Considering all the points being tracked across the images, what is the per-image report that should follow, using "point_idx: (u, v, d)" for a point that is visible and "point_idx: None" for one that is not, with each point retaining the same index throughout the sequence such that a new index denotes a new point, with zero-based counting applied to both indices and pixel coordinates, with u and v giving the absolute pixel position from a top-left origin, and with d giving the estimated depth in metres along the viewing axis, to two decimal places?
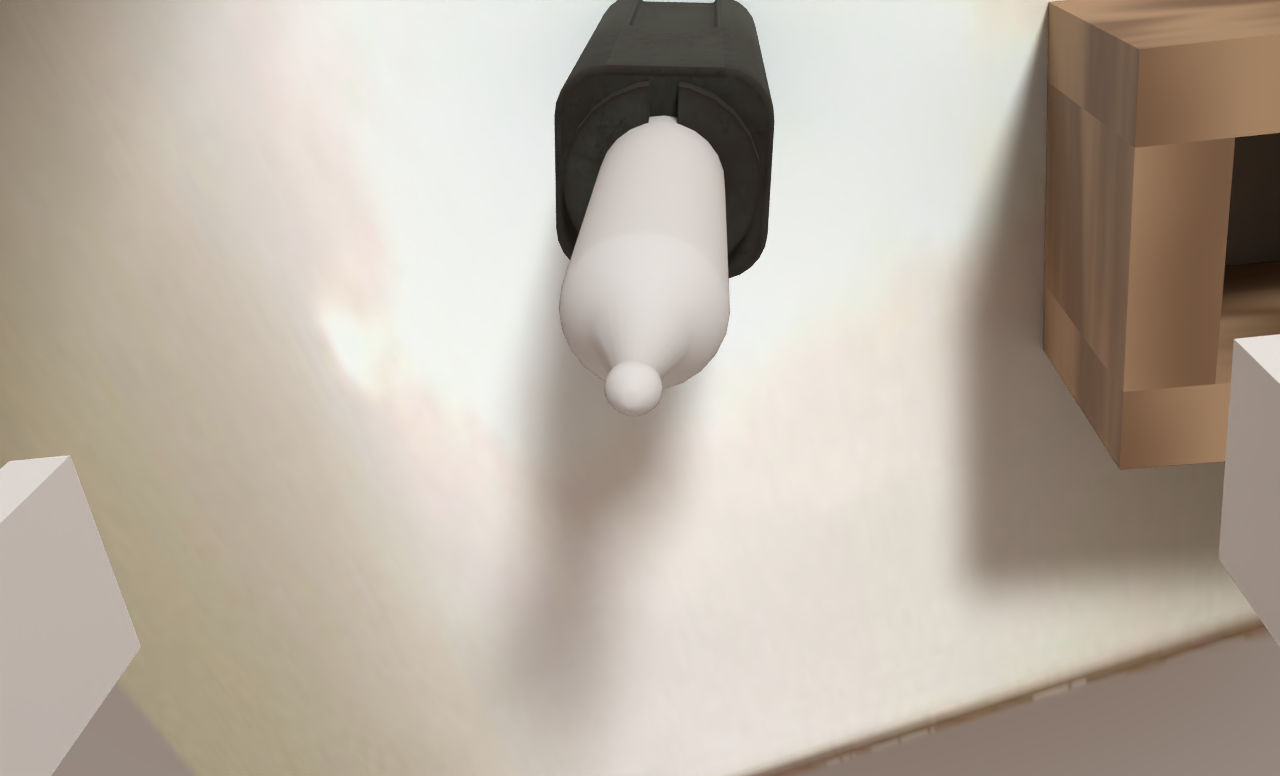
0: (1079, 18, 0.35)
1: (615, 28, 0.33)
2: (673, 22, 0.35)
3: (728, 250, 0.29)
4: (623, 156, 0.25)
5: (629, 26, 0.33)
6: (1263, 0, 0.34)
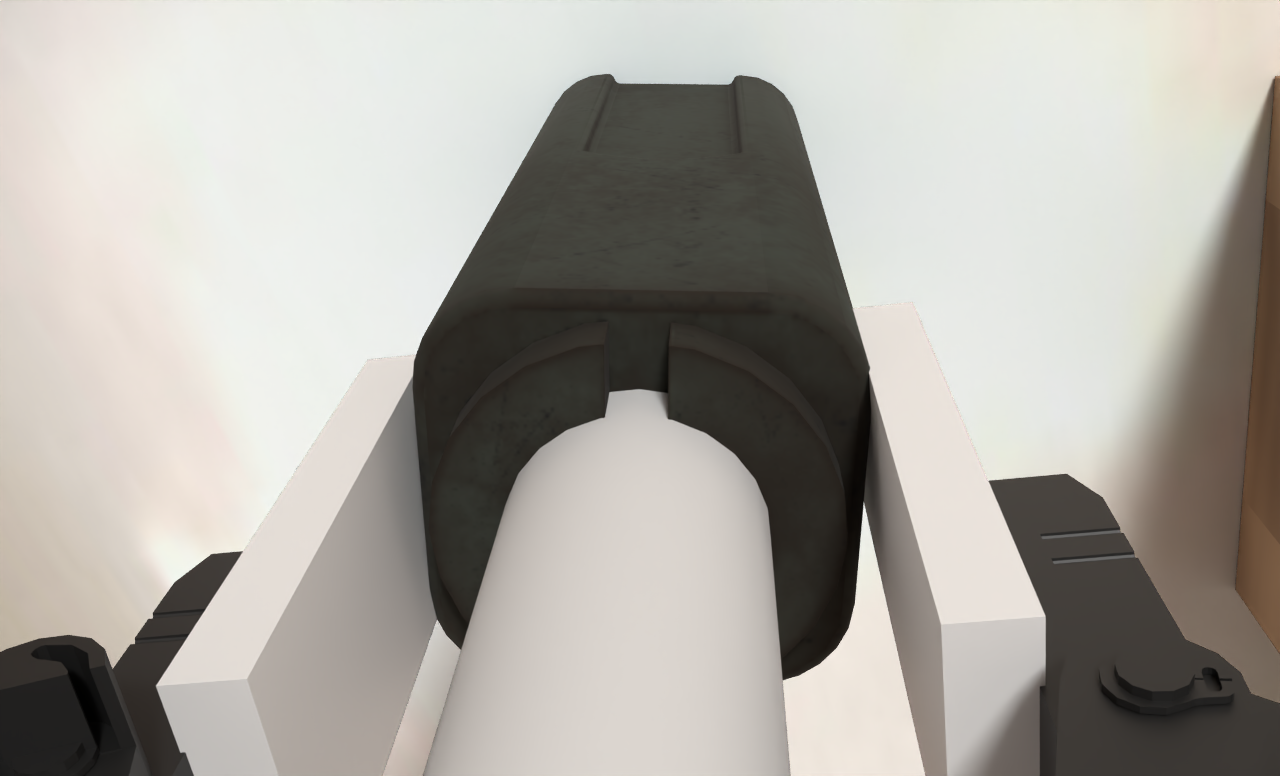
0: None
1: (557, 160, 0.18)
2: (664, 134, 0.20)
3: None
4: (536, 558, 0.11)
5: (583, 154, 0.18)
6: None
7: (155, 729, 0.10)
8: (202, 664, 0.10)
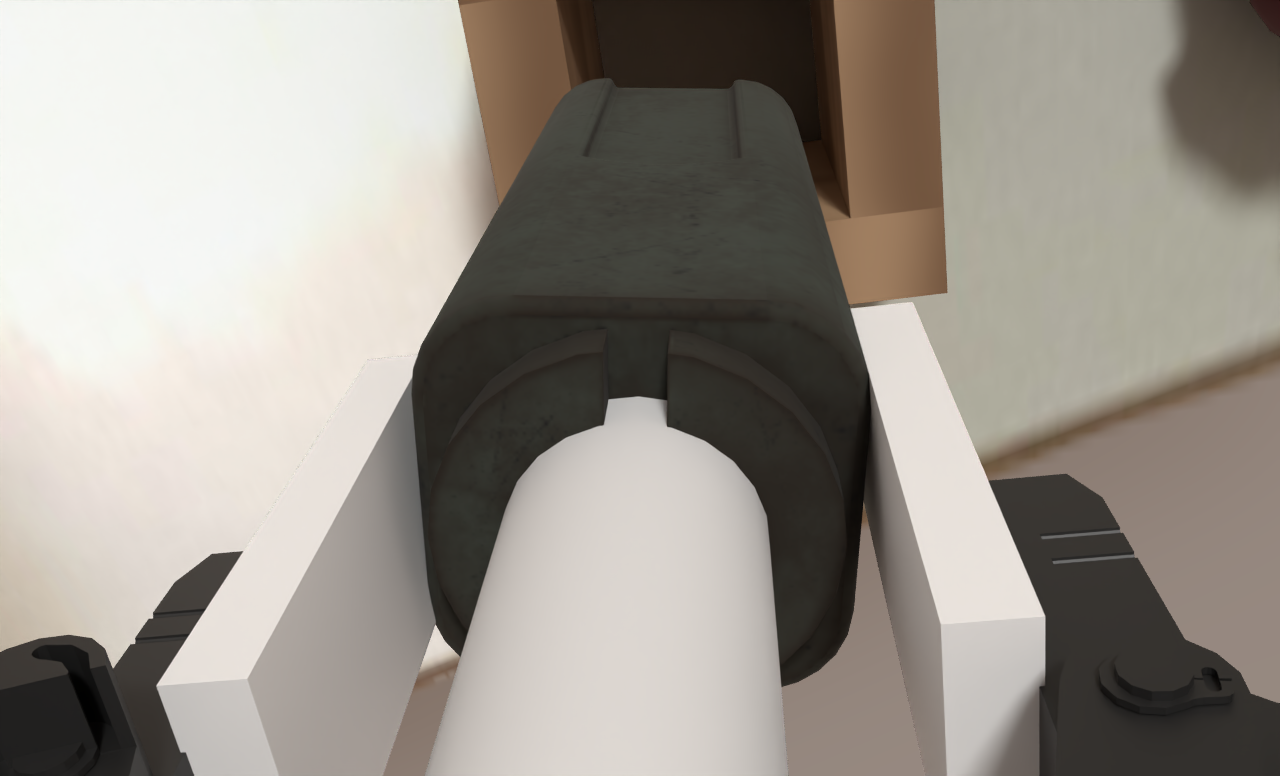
0: None
1: (556, 165, 0.18)
2: (663, 139, 0.20)
3: None
4: (535, 567, 0.11)
5: (582, 159, 0.18)
6: None
7: (155, 729, 0.10)
8: (202, 664, 0.10)
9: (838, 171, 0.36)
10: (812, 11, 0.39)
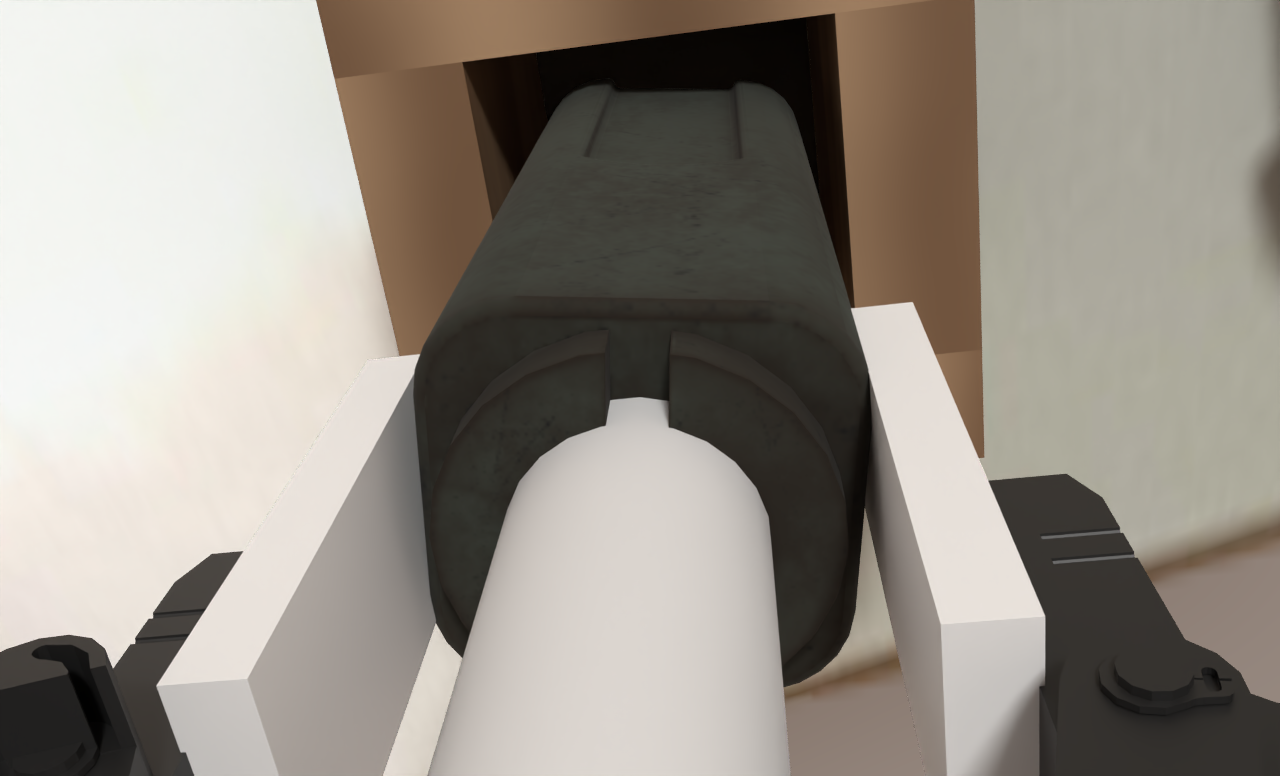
0: None
1: (558, 165, 0.18)
2: (664, 139, 0.20)
3: None
4: (537, 568, 0.11)
5: (584, 160, 0.18)
6: None
7: (155, 729, 0.10)
8: (202, 665, 0.10)
9: None
10: (812, 76, 0.31)
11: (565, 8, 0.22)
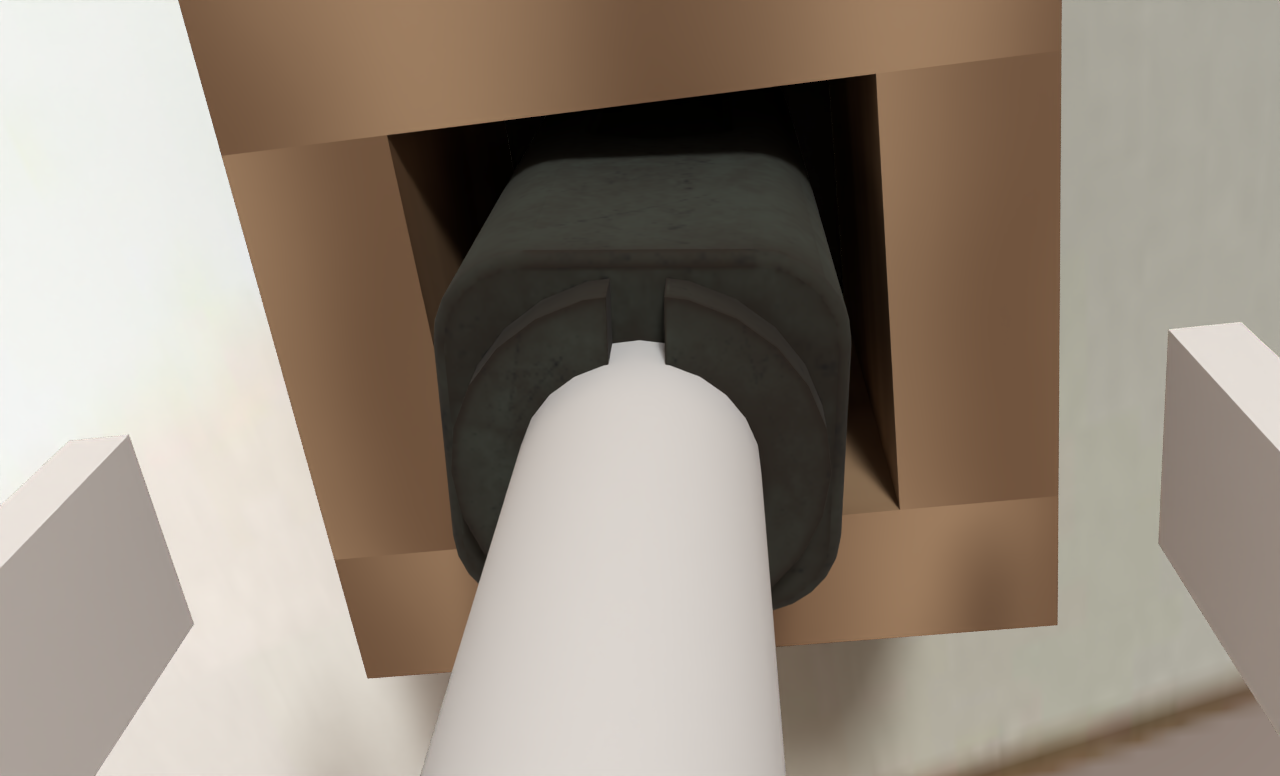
0: None
1: (561, 141, 0.20)
2: (660, 117, 0.22)
3: (771, 582, 0.15)
4: (549, 480, 0.12)
5: (585, 136, 0.20)
6: None
7: None
8: None
9: (876, 403, 0.22)
10: (835, 130, 0.25)
11: (520, 67, 0.17)
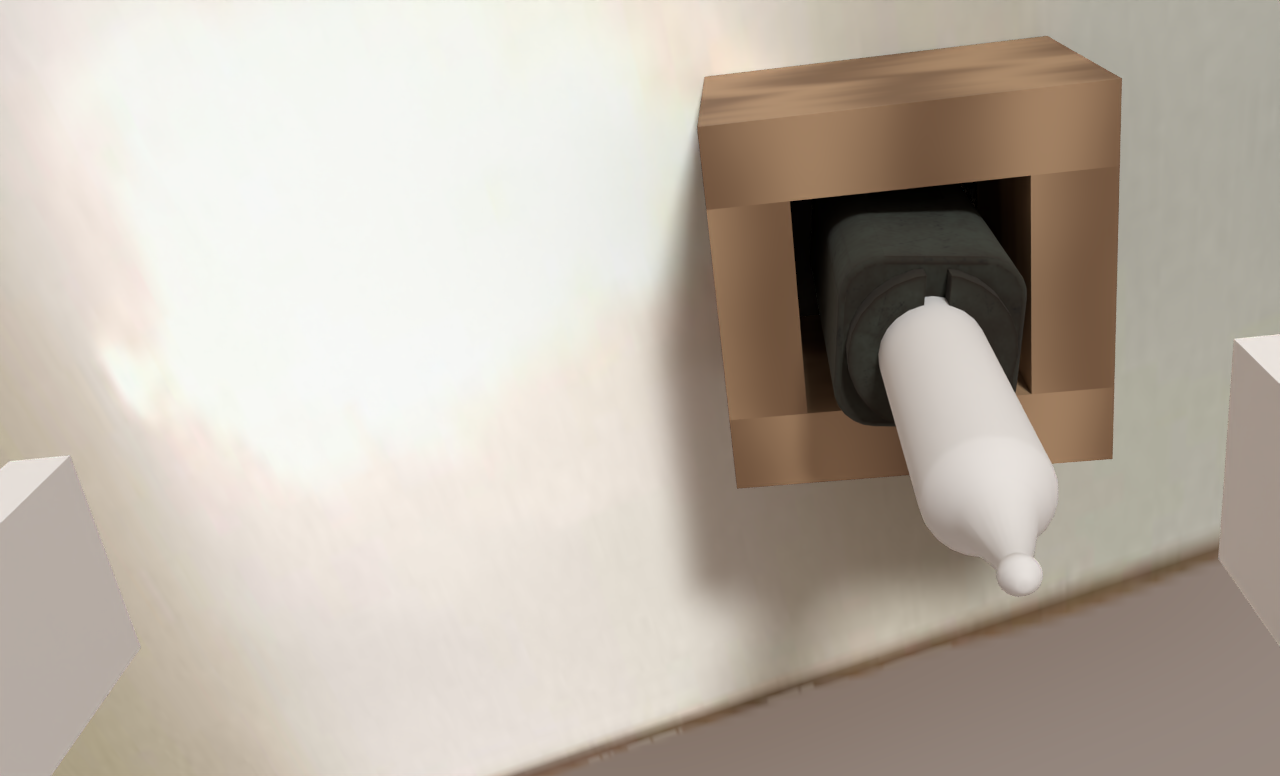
0: (702, 94, 0.41)
1: (859, 203, 0.38)
2: None
3: None
4: (921, 344, 0.30)
5: (869, 200, 0.38)
6: (852, 79, 0.40)
7: None
8: None
9: None
10: (981, 193, 0.44)
11: (859, 170, 0.36)
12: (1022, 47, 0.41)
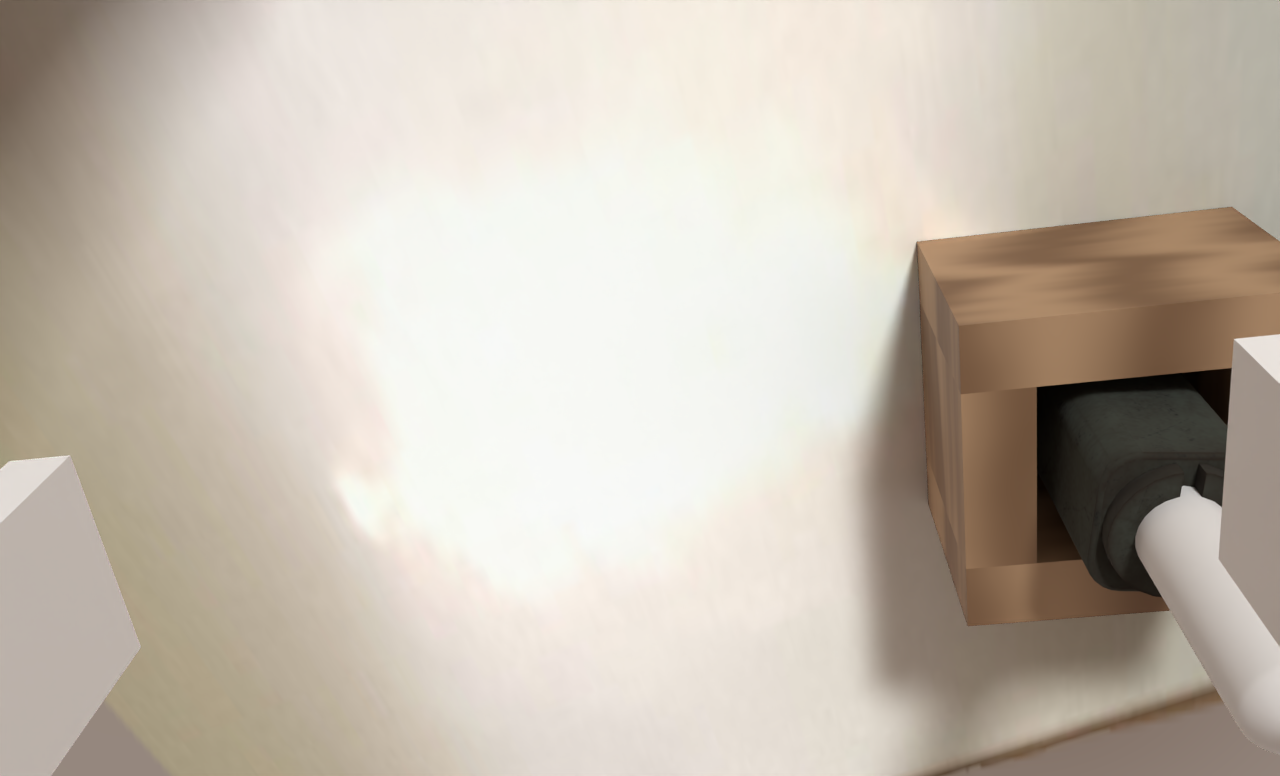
0: (931, 271, 0.45)
1: None
2: None
3: None
4: (1195, 544, 0.35)
5: None
6: (1072, 261, 0.44)
7: None
8: None
9: None
10: None
11: (1101, 361, 0.40)
12: (1216, 224, 0.45)
